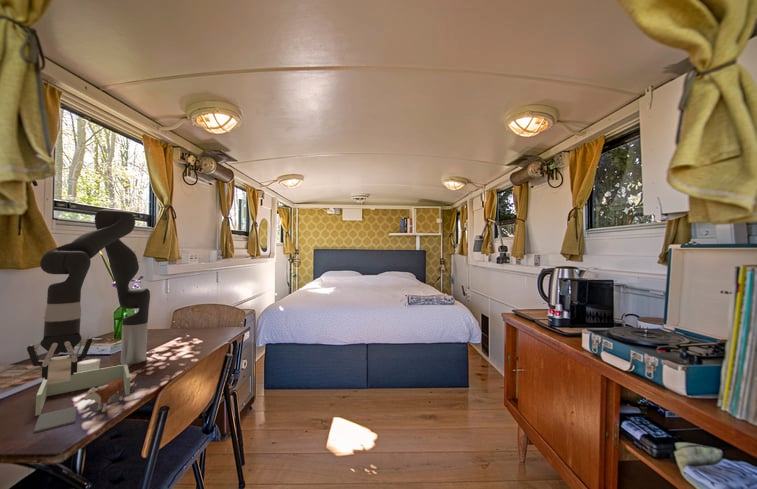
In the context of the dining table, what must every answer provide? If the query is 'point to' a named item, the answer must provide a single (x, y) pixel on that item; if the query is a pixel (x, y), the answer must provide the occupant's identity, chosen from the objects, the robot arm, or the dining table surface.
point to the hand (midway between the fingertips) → (59, 376)
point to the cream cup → (88, 365)
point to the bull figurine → (105, 393)
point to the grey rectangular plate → (55, 419)
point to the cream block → (59, 369)
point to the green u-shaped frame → (83, 383)
